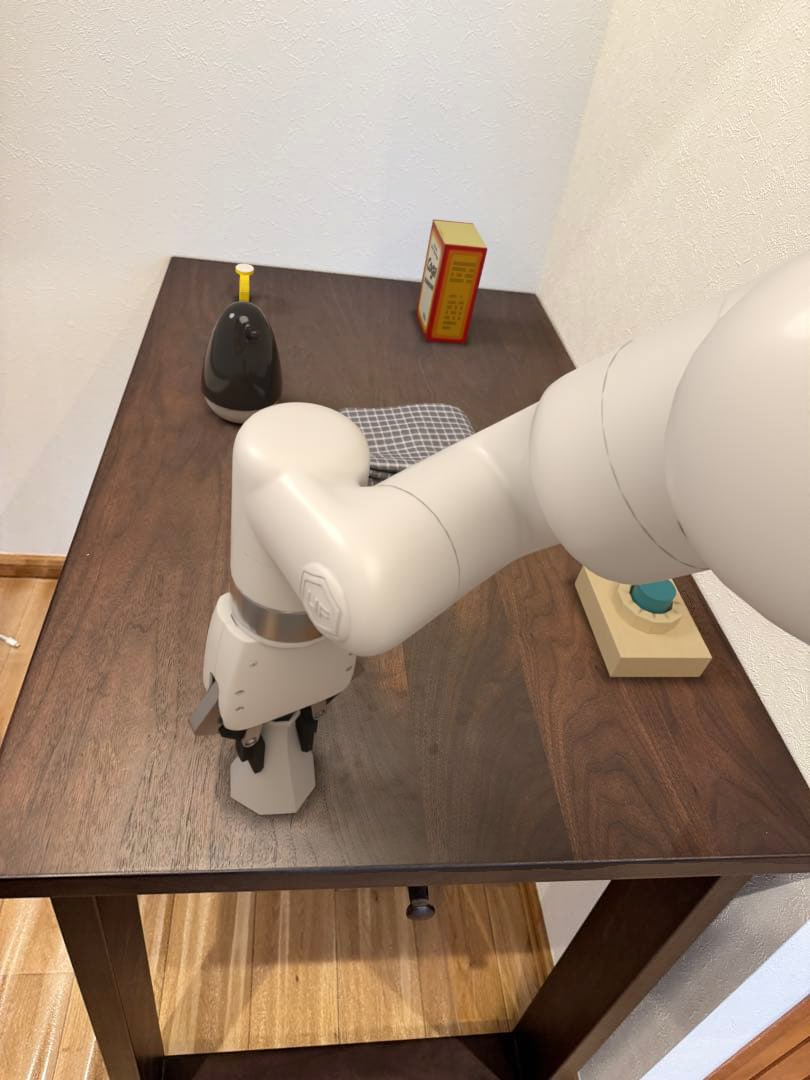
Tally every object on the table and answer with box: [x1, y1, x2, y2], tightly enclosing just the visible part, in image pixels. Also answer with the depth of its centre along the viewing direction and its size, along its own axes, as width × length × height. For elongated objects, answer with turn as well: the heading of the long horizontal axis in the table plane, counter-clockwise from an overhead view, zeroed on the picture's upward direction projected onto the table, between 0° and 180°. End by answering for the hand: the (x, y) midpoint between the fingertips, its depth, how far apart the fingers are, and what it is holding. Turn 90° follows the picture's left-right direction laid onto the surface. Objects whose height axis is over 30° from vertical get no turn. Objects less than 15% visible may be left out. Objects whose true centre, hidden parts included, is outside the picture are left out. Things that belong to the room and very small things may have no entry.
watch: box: [235, 263, 255, 302], centre depth 122 cm, size 6×3×6 cm, turn 9°
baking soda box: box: [415, 218, 488, 344], centre depth 124 cm, size 10×6×16 cm
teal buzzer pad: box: [574, 565, 713, 678], centre depth 83 cm, size 13×10×5 cm
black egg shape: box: [200, 300, 284, 424], centre depth 97 cm, size 10×10×15 cm
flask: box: [229, 709, 316, 816], centre depth 62 cm, size 7×7×10 cm
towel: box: [337, 402, 476, 487], centre depth 94 cm, size 15×18×8 cm
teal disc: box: [631, 580, 676, 614], centre depth 81 cm, size 4×4×2 cm
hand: (275, 746), depth 62 cm, fingers closed on flask, 3 cm apart
